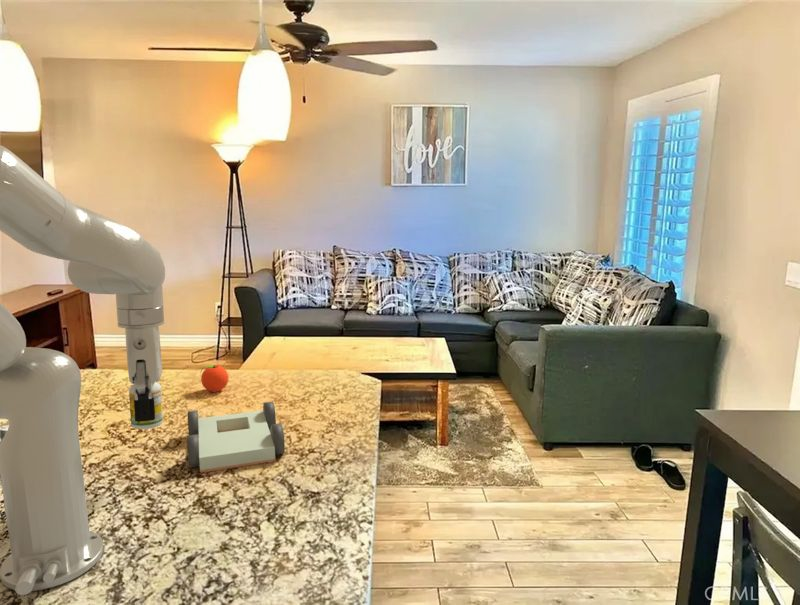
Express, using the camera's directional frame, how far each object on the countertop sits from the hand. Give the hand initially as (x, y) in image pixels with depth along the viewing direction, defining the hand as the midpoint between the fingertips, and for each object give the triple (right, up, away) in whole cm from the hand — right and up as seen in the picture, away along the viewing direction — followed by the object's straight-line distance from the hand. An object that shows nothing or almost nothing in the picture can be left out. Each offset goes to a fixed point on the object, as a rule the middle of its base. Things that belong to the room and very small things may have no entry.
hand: (146, 413), depth 103 cm
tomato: (-3, -3, +48) cm, 48 cm away
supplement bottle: (0, -2, 0) cm, 2 cm away
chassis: (+12, -10, +16) cm, 22 cm away
